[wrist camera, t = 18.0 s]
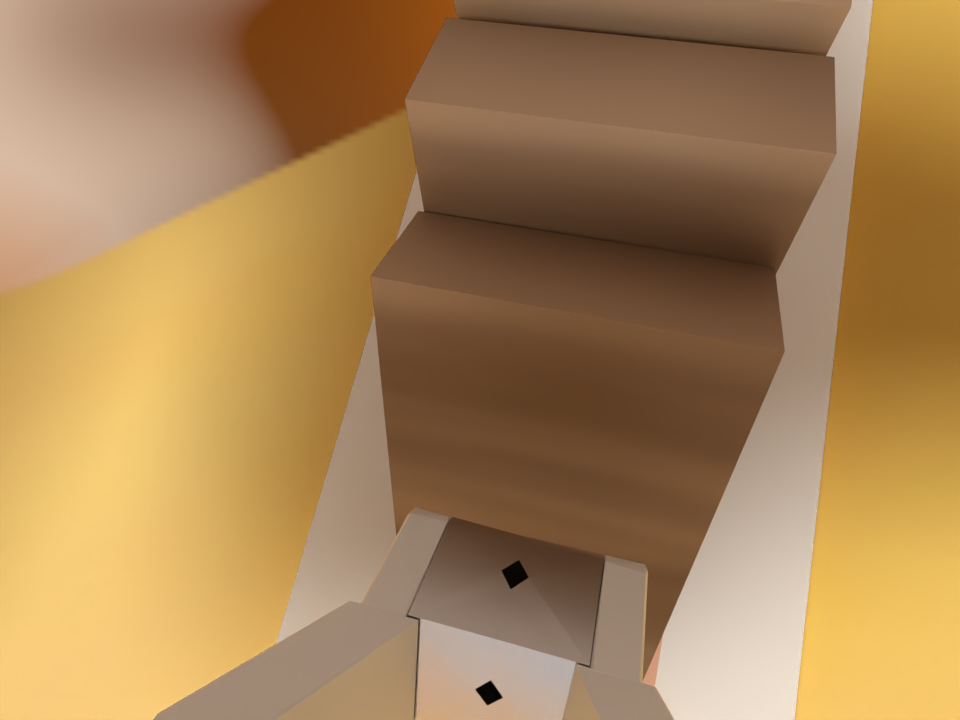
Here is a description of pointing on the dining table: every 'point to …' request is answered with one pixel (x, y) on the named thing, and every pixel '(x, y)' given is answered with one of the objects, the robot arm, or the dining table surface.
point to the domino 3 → (571, 388)
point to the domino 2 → (623, 137)
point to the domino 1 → (680, 20)
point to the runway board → (744, 505)
